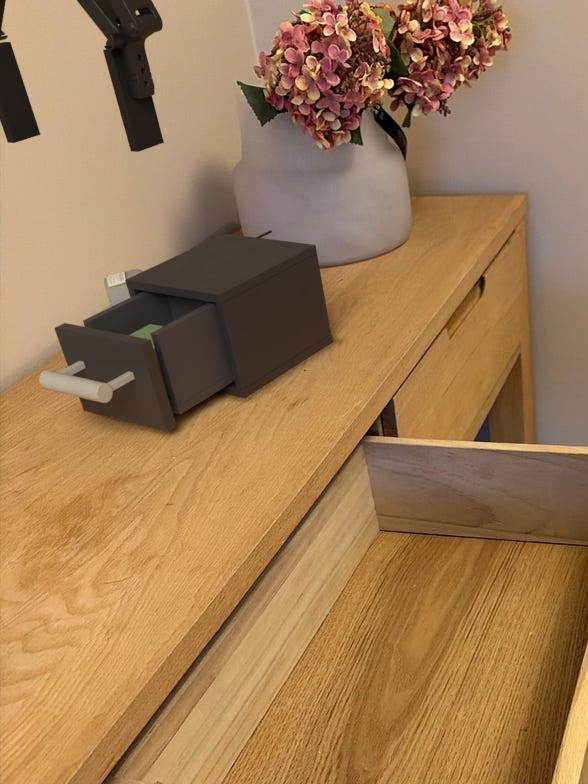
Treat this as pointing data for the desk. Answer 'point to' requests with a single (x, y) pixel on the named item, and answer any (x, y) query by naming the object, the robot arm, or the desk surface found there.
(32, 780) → the desk surface
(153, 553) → the desk surface
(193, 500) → the desk surface
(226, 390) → the cabinet
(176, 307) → the drawer
